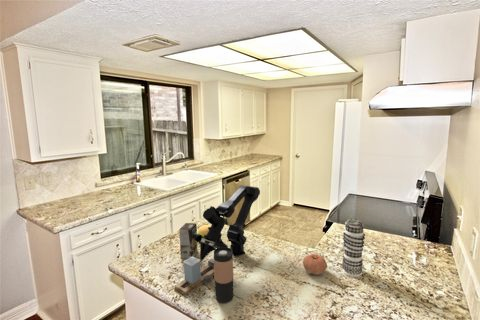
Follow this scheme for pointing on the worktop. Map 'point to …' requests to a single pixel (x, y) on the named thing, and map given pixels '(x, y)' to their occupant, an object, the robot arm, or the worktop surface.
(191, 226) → the coffee box
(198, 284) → the beam
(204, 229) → the hamburger
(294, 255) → the worktop surface
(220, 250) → the travel mug
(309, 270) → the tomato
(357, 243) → the grey white banded cylinder
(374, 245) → the worktop surface
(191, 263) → the block
